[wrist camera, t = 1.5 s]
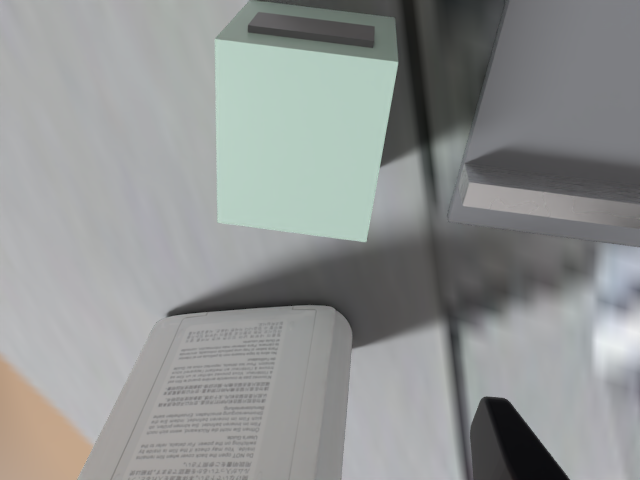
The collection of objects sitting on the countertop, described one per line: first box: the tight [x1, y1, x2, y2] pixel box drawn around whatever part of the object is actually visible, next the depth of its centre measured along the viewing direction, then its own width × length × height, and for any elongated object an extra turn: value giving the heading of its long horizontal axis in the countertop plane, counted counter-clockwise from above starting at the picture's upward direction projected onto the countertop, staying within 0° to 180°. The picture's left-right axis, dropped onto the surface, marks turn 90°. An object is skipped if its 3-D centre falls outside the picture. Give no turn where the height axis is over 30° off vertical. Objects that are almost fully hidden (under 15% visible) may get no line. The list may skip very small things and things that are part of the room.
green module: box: [215, 0, 398, 242], centre depth 19 cm, size 5×6×5 cm
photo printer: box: [77, 305, 352, 480], centre depth 23 cm, size 10×4×12 cm, turn 101°
